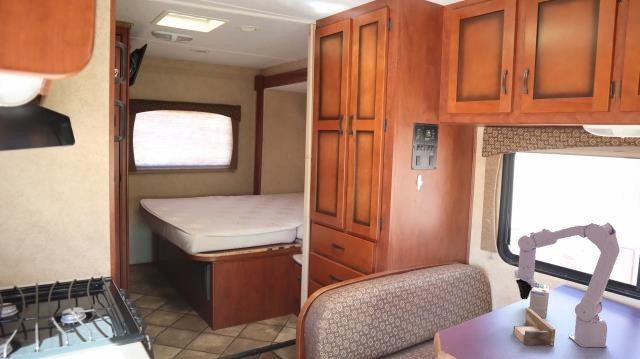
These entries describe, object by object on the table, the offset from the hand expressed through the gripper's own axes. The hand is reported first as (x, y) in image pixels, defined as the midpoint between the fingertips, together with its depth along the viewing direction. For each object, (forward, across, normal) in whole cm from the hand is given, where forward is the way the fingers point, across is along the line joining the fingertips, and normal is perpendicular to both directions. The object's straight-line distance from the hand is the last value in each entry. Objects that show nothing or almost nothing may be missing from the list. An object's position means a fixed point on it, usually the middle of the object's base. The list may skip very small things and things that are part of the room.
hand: (524, 298), depth 180 cm
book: (+10, +14, -4) cm, 17 cm away
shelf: (+9, +11, -4) cm, 15 cm away
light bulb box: (+10, -9, +11) cm, 17 cm away
